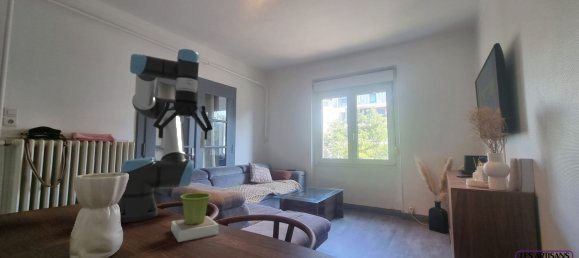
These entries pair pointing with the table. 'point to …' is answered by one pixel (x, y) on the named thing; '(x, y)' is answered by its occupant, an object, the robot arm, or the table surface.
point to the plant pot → (194, 207)
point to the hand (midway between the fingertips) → (183, 148)
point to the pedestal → (194, 229)
